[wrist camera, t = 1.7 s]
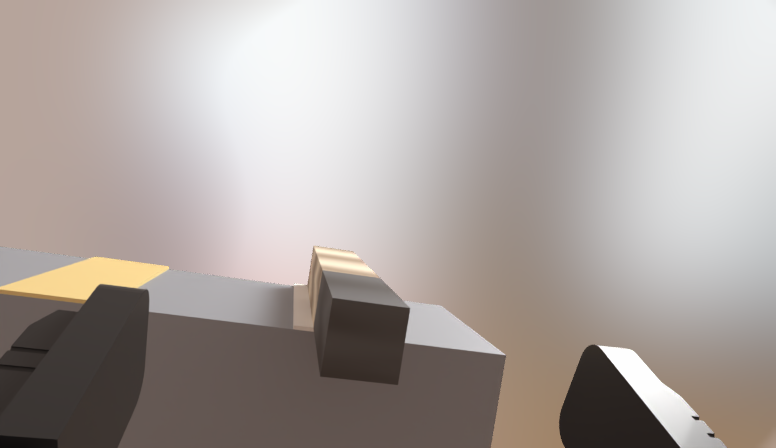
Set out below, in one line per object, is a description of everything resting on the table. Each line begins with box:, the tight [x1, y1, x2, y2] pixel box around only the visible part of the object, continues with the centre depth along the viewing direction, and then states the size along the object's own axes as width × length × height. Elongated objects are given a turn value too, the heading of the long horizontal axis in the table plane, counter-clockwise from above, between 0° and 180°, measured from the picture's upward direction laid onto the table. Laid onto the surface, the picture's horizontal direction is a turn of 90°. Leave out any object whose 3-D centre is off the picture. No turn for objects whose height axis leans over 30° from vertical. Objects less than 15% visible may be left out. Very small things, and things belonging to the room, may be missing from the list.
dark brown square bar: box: [307, 246, 410, 385], centre depth 33 cm, size 22×3×3 cm, turn 9°
